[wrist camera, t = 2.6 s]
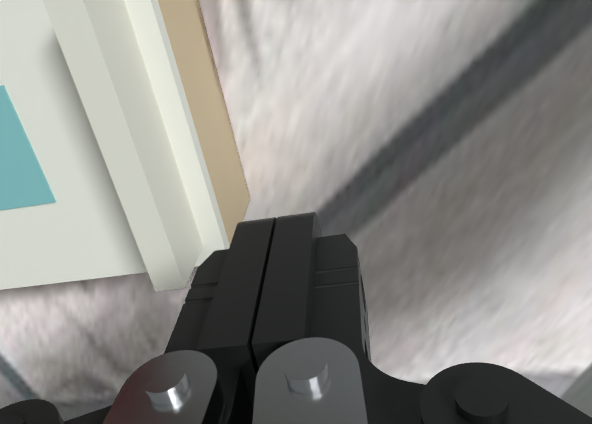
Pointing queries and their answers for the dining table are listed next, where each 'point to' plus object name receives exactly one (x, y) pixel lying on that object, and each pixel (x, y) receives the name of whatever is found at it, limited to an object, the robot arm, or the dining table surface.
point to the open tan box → (207, 107)
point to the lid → (98, 148)
